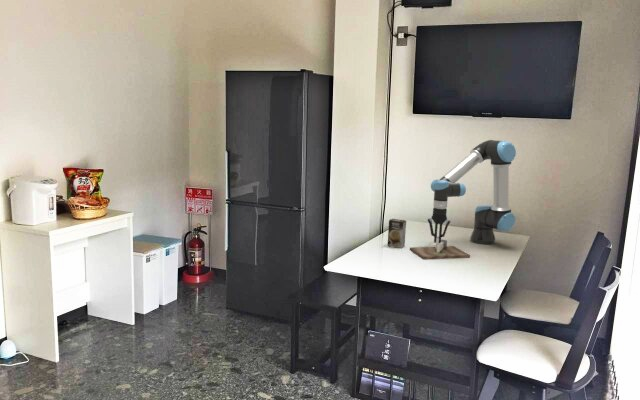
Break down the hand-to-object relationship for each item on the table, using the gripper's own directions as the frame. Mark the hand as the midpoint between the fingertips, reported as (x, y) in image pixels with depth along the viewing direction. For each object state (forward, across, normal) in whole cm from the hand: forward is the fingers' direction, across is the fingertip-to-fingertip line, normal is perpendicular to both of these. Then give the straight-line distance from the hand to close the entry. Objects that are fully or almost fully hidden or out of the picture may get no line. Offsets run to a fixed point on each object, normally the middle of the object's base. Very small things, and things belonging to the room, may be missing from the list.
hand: (437, 248), depth 308 cm
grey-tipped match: (+2, +2, +3) cm, 4 cm away
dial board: (+3, +1, +1) cm, 4 cm away
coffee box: (+4, -25, +8) cm, 26 cm away
